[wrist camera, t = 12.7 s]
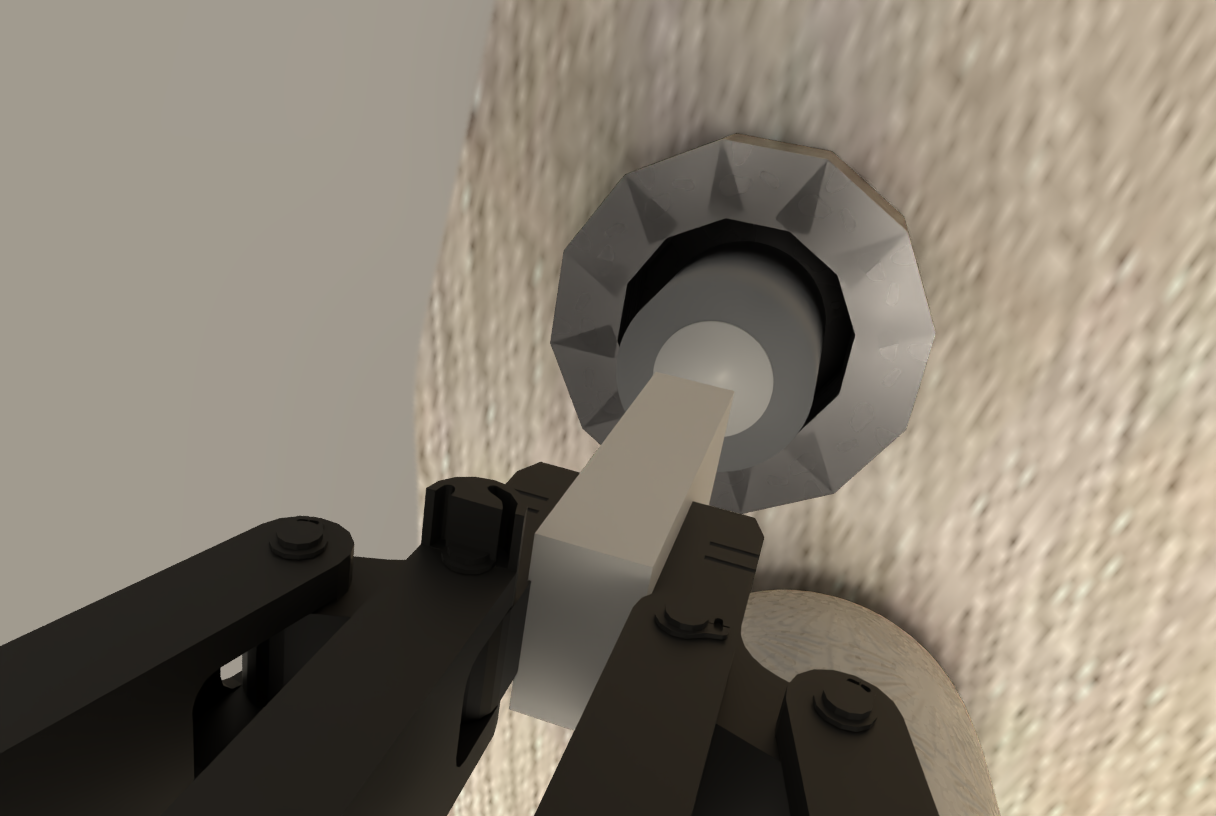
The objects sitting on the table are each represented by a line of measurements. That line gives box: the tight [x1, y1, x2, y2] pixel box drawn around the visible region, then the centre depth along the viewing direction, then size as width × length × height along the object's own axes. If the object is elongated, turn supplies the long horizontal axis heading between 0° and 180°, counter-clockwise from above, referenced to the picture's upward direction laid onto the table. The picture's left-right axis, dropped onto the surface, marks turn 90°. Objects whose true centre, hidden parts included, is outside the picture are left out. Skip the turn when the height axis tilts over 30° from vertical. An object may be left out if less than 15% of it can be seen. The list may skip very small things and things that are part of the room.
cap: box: [616, 241, 826, 472], centre depth 26 cm, size 5×5×6 cm
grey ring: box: [550, 133, 936, 514], centre depth 28 cm, size 10×10×3 cm
